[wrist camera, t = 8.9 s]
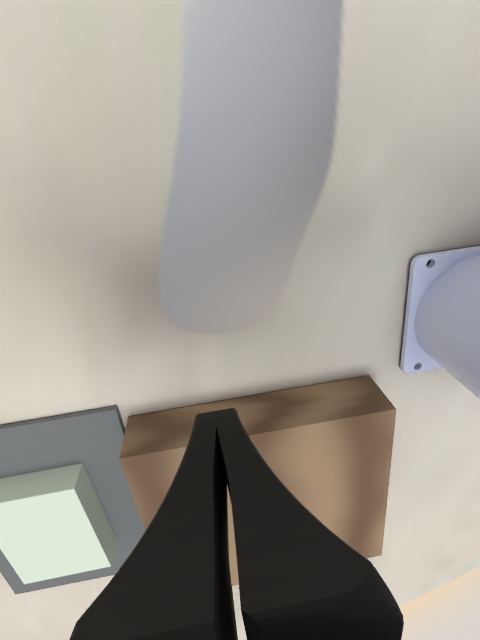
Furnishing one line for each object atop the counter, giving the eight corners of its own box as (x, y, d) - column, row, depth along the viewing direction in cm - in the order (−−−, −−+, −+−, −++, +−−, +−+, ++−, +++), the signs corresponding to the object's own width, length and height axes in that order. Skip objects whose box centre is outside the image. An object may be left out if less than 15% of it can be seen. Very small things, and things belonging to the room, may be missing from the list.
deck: (369, 375, 24) (396, 409, 21) (361, 512, 30) (381, 555, 27) (128, 416, 23) (119, 458, 20) (171, 550, 29) (169, 598, 26)
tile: (-28, 508, 22) (-11, 480, 23) (24, 584, 25) (35, 555, 27) (73, 488, 22) (82, 463, 24) (111, 566, 25) (116, 538, 27)
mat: (116, 405, 23) (115, 409, 22) (167, 559, 30) (167, 564, 29) (-83, 439, 22) (-88, 444, 21) (18, 588, 29) (15, 594, 28)
